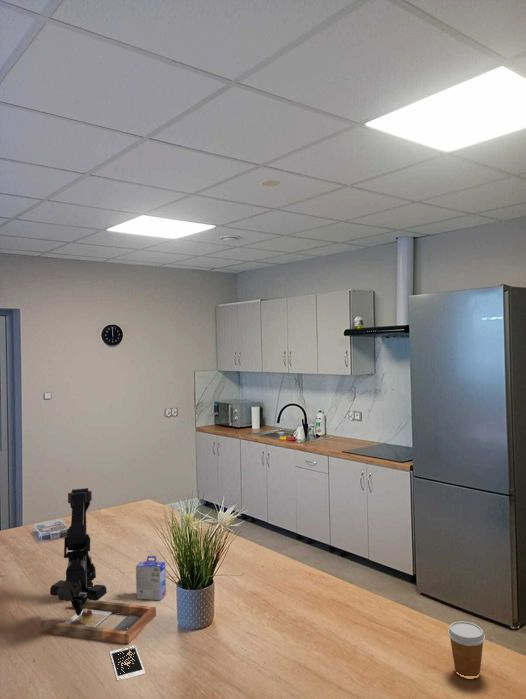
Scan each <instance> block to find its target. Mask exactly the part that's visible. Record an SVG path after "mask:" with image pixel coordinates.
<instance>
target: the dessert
mask: <svg viewBox="0 0 526 699" xmlns="http://www.w3.org/2000/svg"><path fill="white" fill-rule="evenodd" d="M98 614H101V615H100V616H104V617H103V618H102V619H100V621H98V622H97V623H96V624H95V625H93V627H96V628H97V626H99V624H100V623H102V622H103V621H104V620H105V619H107V618H108V617H109V616H111V614H113V613H112V612H107V611H99V610H91V609H89V608H88V609H86V608H85V609H84V608H83V610H82V612H81V615H79V616H77V614H76V613H75V614H74V615H73V616H71V617H70V618H68V619H67V620H66V621H65V622H64V623H65V624H72V623H73V622H74V621H75V620H77V619H78V618H80V617H81V618H80V621H79V623H80V624H82V625H87V623H88V624H91V623H93V622H94V621H95V616H94V615H98ZM106 615H107V616H106Z"/></svg>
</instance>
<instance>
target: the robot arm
mask: <svg viewBox="0 0 526 699" xmlns="http://www.w3.org/2000/svg"><path fill="white" fill-rule="evenodd" d="M92 499H93V491H92V490H90V489H89V488H88V487H87V488H76V489H71V492H68V493H67V504H69V506H70V508H71V518H70V521H71V522H70V526H69V527H68V529H67V530H66V536H64V539H63V541H64V542H63V543H64V544H63V549H64V550H63V558H64V559H67V560H68V562H67V567H66V571H65V580H59V581H57V582H55V583H53V584H52V585H51V586H50V589H49V595H51V596H56V597H58V600H59V601H66V602H71V606H72V605H73V607H74V608H73V609H74V611H75V614H77V616H79V615H80V616H82V615H81V612H82V610H83V607H84V605H85V602H86V600H87V599H88V600H95V601H96V600H97V601H99V600H100V599H101V598H102V597H103V596H105V595H106V594H107V586H106V585H104V584H103V585H102V584H97V583H96V584H94V582H93V580H94V579H96V578H97V571H96V566H95V565H94V563H93V562H92V557H91V555H90V553H89V552H91V537H90V535H89V534H88V533H87V527H88V526H87V511H88V509H89V507H90V505H91V501H92ZM80 616H79V617H80Z"/></svg>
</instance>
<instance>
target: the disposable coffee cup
mask: <svg viewBox="0 0 526 699" xmlns="http://www.w3.org/2000/svg"><path fill="white" fill-rule="evenodd" d="M447 633H448V636H449V638H450V639H449V640H450V645H451V651H452V652H451V653H452V657H453V659H452V660H453V664H454V671H455V670H456V672H458V673H459V674H461V675H464V676H477V675H478V674H479V673H480V674H481V667H482V656H483V647H484V646H483V645H484V642H485V640H486V634H485V633H484V630H483V629H482V628H481V627H480V626H479V625H478V624H476V623H473V622H469V621H455V622H452V623H451V624H450V625H449V628H448V630H447ZM456 672H455V673H456Z"/></svg>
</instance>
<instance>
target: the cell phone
mask: <svg viewBox="0 0 526 699" xmlns="http://www.w3.org/2000/svg"><path fill="white" fill-rule="evenodd" d="M131 646H132V647H133V648H134V649H133V648H132V647H131ZM134 646H135V647H136V648H135V647H134ZM129 647H130V648H131V649H132V650H131V649H128V648H126V647H122V648H119V649H118V648H117V649H114V650H111V651H109V656H110V660H111V659H112V660H111V664H112V663H113V664H112V667H114V668H113V672H114V674H115V675H114V676H115V678H117V679H116V681H117V680H119V678H121V679H125V680H128V679H127V678H129V679H131V678H130V677H133V678H136V677H135V676H137V677H139V676H143V674H144V675H145V674H146V671H145V667H144V665H143V662H142V660H141V658H140V657H141V656H140V655H139V652H138V649H137V646H136V645H130V646H129ZM123 648H125V649H123ZM122 649H123V650H124V651H123V650H122ZM129 650H130V651H131V652H132V653H133V654H134V652H135V654H134V655H133V654H132V653H130V654H132V656H131V655H130V656H131V657H132V658H133V659H134V660H135V661H134V660H132V658H130V656H129V655H127V653H128V652H129ZM121 651H122V652H123V653H124V654H123V653H122V652H121ZM120 653H121V654H120ZM118 654H119V655H118ZM126 655H127V656H126ZM124 656H125V657H124ZM133 656H134V657H133ZM122 657H123V658H124V659H123V658H122ZM128 657H129V658H130V659H128ZM120 658H121V659H120ZM118 659H119V660H118ZM126 659H128V660H129V661H130V660H132V661H133V662H132V661H130V662H131V663H130V664H128V665H129V666H130V667H129V666H127V665H124V664H125V663H124V661H125V660H126ZM122 660H123V661H122ZM128 660H126V661H127V662H129V661H128ZM120 661H121V662H120ZM126 661H125V662H126ZM118 662H120V663H118ZM122 662H123V663H124V664H122V665H123V666H121V663H122ZM127 662H126V663H127ZM132 663H134V664H132ZM118 664H119V665H118ZM113 665H114V666H113ZM121 667H123V668H124V669H123V668H121ZM117 668H118V669H117ZM128 668H129V669H128ZM121 669H122V670H123V671H124V672H125V673H124V672H123V671H122V670H121ZM120 673H121V674H120ZM122 675H123V676H124V677H125V678H124V677H123V676H122ZM118 677H119V678H118Z"/></svg>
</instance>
